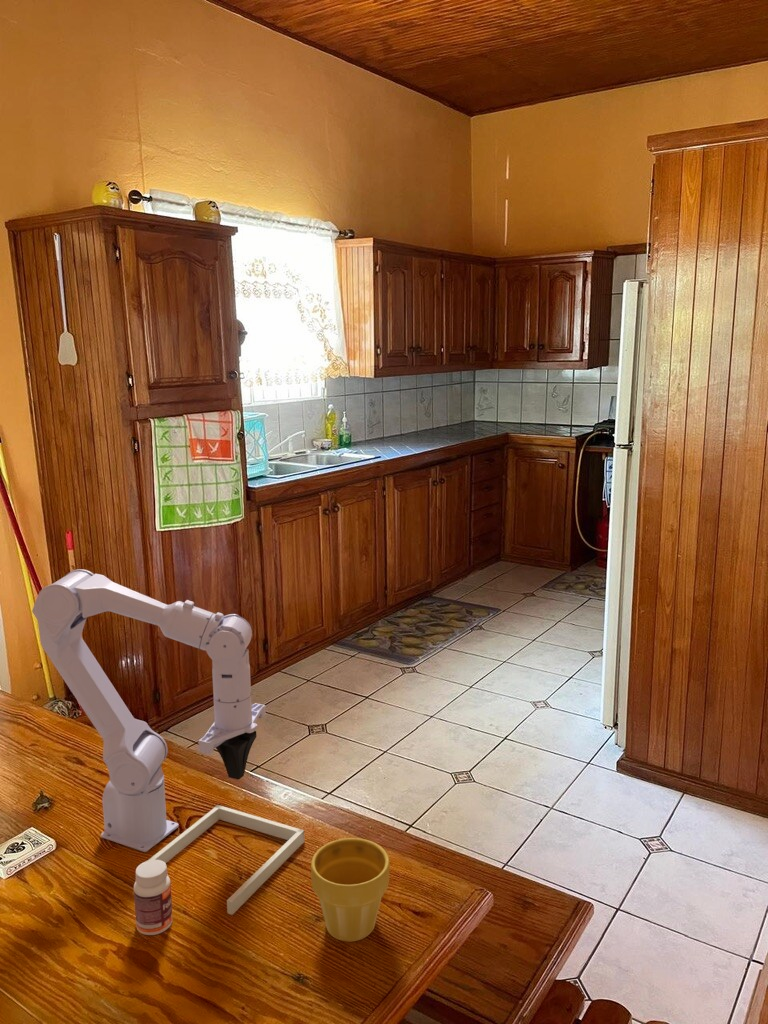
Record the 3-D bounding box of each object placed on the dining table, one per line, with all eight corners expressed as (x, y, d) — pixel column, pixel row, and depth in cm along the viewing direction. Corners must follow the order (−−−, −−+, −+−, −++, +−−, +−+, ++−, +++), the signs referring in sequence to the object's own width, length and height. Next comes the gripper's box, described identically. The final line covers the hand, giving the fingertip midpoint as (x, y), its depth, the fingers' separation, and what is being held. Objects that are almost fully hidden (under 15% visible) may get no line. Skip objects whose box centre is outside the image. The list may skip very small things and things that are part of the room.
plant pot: (380, 958, 101) (380, 890, 99) (302, 947, 103) (301, 879, 102) (395, 904, 111) (395, 841, 109) (324, 895, 113) (323, 832, 111)
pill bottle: (172, 933, 106) (168, 876, 104) (134, 938, 105) (130, 881, 103) (173, 909, 110) (170, 855, 109) (137, 914, 109) (134, 859, 108)
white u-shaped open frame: (138, 880, 117) (137, 868, 116) (218, 815, 133) (217, 804, 133) (232, 915, 109) (231, 902, 109) (304, 841, 126) (304, 830, 125)
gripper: (224, 719, 115) (228, 805, 117) (280, 682, 128) (282, 761, 130) (185, 710, 118) (190, 794, 120) (244, 675, 131) (247, 752, 133)
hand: (236, 776), depth 125 cm, fingers closed
